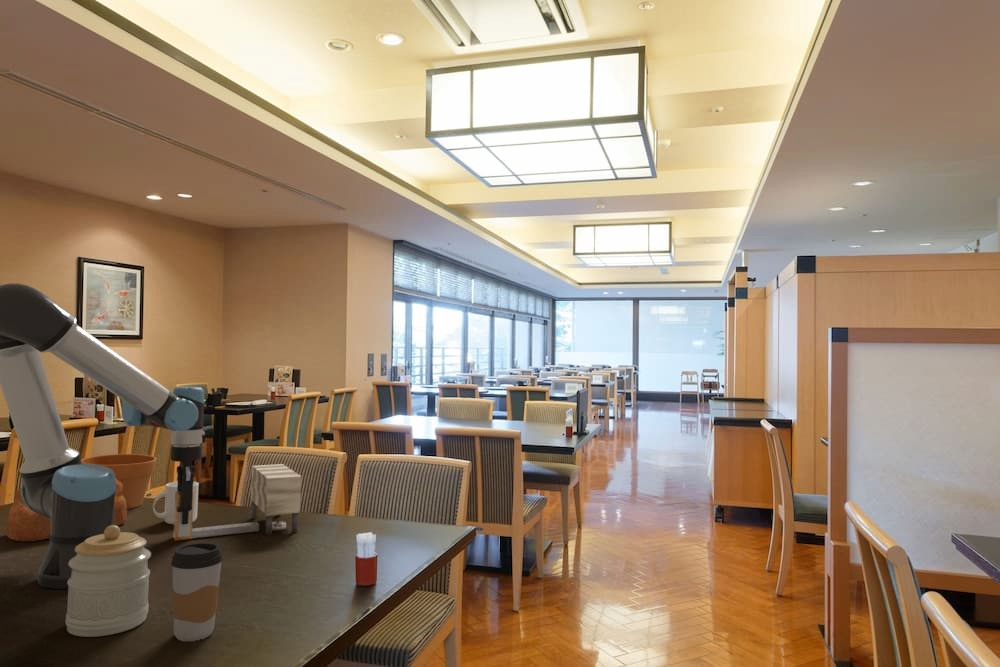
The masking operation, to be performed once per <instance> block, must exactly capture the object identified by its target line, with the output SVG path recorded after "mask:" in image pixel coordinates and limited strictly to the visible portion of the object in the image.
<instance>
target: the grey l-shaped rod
mask: <svg viewBox="0 0 1000 667" xmlns="http://www.w3.org/2000/svg"><path fill="white" fill-rule="evenodd" d="M180 492H181V491H175V510H174V524H173V539H174V541H175V542H177V541H186V540H192V539H198V538H199V539H200V538H206V537H209V538H210V537H217V536H225V535H226V536H227V535H234V534H245V533H253V532H259V531H260V523H259V522H258V521H251V522H250V521H249V522H242V523H232V524H231V523H230V524H224V525H223V524H222V525H215V526H204V527H195V528H193V522H192V519H193V494H194V493H192V510H191V517H190V536H183V537H178V524H179V512H177V510H180Z"/></svg>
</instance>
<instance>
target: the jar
mask: <svg viewBox="0 0 1000 667" xmlns="http://www.w3.org/2000/svg"><path fill="white" fill-rule="evenodd" d="M146 545H147V540H146V538H143V537H141V536H139V535H138V534H136V533H135V532H127V531H126V532H125V531H121V529H120V527H119V525H118V526H116V525H111V526H108V527H107V528H106V529H105V531H104V534H100V535H96V536H92V537H90V538H87V539H86V540H85V541H84V542H83V543H81V544H79V545H78V546H76V547H75V552H76V553H77V555H76V556H75V557H73V558H72V559H71V560H70V561H69V563H68V565H69V567H70V568H72V573H71V577H70V578H69V580H68V582H67V584H68V588H67V590H68V591H67V605H66V606H67V609H66V615H65V625H66V632H68V633H69V634H70V635H73V636H77V637H85V638H94V637H95V638H96V637H104V636H105V637H106V636H111V635H114V634H115V635H116V634H119V633H123V632H126V631H129V630H132V629H134V628H136V627H138V626H139V625H140V626H141V624H143V622H145V621H146V619H147V616H148V613H149V606H150V604H149V582H150V575H151V570H150V569H149V568H148V561H149V559H150V558H151V557H152V552H151V551H150V550H149V549H147V548H145V546H146Z"/></svg>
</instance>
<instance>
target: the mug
mask: <svg viewBox="0 0 1000 667" xmlns="http://www.w3.org/2000/svg"><path fill="white" fill-rule="evenodd" d="M177 486H178V482H177V481H173V482H168V483H166V484H165V489H164V490H163V491H161V492H160V493H158V494H157V495H156V496H155V498H154V499H153V503H152V511H153V514H154V515H155V517H156V518H159V519H164V522H165V523H166V524H169V525H174V510H175V491H177ZM193 493H194V494H193V519H192V523H193V522H195V521H196V520H197V518H198V503H199V501H198V500H199V482H197V481H193ZM162 498H164V511H163V512H157V510H156V509H155V506H156V503H157V502H158V500H160V499H162Z"/></svg>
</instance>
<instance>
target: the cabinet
mask: <svg viewBox="0 0 1000 667" xmlns="http://www.w3.org/2000/svg"><path fill="white" fill-rule="evenodd" d="M301 493H302V475H300V474H299V473H298V472H295V471H294V470H293V469H291V468H290V467H288V466H287V465H285V464H283V463H278V464H277V463H276V464H264V465H263V464H262V465H261V464H260V465H259V464H257V465H251V485H250V500H251V515H250V516H251V518H250V520H251V519H252V520H256V519H258V509H260V510H261V512H262V513H263V514H264V516H266V517H265V536H267V537H269V536H272V535H273V534H272V532H273V531H272V522H273V516H275V517H281V516H282V515H288V514H291V516H292V517H291V533H298V531H299V513H301V497H302V495H301Z"/></svg>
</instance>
